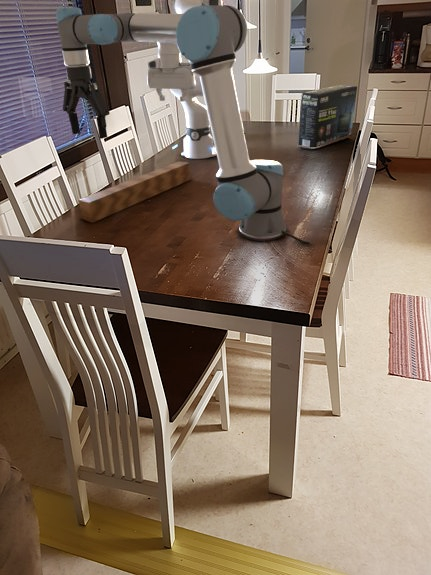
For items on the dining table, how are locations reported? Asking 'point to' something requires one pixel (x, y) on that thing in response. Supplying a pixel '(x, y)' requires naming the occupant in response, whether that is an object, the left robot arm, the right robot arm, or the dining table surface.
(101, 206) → the bar
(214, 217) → the dining table surface
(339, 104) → the router box
